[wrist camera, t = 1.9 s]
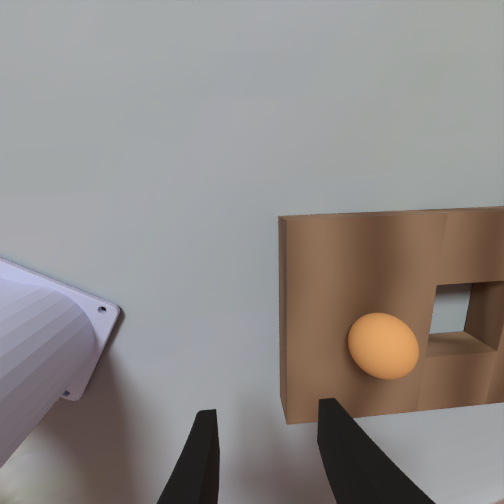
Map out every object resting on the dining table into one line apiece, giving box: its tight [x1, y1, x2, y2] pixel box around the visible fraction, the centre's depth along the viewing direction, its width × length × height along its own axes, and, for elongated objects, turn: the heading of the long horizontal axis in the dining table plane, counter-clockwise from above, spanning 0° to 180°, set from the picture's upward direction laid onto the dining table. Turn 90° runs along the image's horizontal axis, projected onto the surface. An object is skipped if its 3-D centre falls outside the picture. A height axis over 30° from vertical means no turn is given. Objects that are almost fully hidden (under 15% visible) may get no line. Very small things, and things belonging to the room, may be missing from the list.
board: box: [278, 206, 504, 425], centre depth 17 cm, size 17×14×2 cm
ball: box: [348, 313, 419, 380], centre depth 14 cm, size 4×4×4 cm
